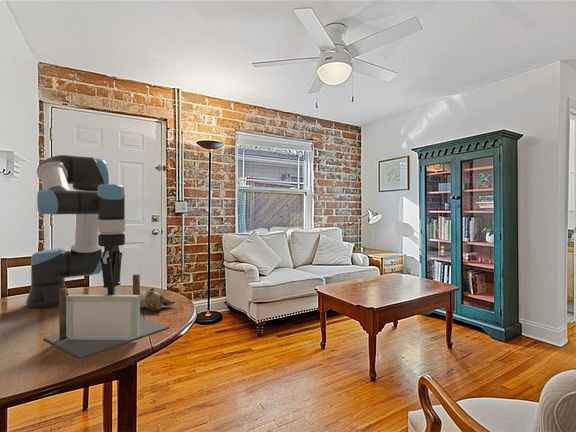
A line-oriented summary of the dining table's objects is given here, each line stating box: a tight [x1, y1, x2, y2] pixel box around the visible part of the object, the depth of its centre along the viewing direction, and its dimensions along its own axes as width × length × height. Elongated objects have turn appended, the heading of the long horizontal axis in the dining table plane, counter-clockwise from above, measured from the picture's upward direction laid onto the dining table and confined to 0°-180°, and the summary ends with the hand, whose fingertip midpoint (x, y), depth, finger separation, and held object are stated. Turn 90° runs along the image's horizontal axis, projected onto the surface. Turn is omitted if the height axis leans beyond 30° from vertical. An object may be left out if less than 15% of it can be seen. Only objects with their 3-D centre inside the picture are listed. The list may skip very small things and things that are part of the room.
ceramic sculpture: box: [140, 288, 176, 312], centre depth 134 cm, size 11×9×15 cm
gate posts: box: [58, 273, 141, 340], centre depth 112 cm, size 2×28×16 cm, turn 152°
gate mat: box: [43, 316, 170, 359], centre depth 106 cm, size 24×28×1 cm
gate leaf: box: [66, 294, 141, 337], centre depth 100 cm, size 22×2×12 cm, turn 89°
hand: (112, 306), depth 103 cm, fingers closed
